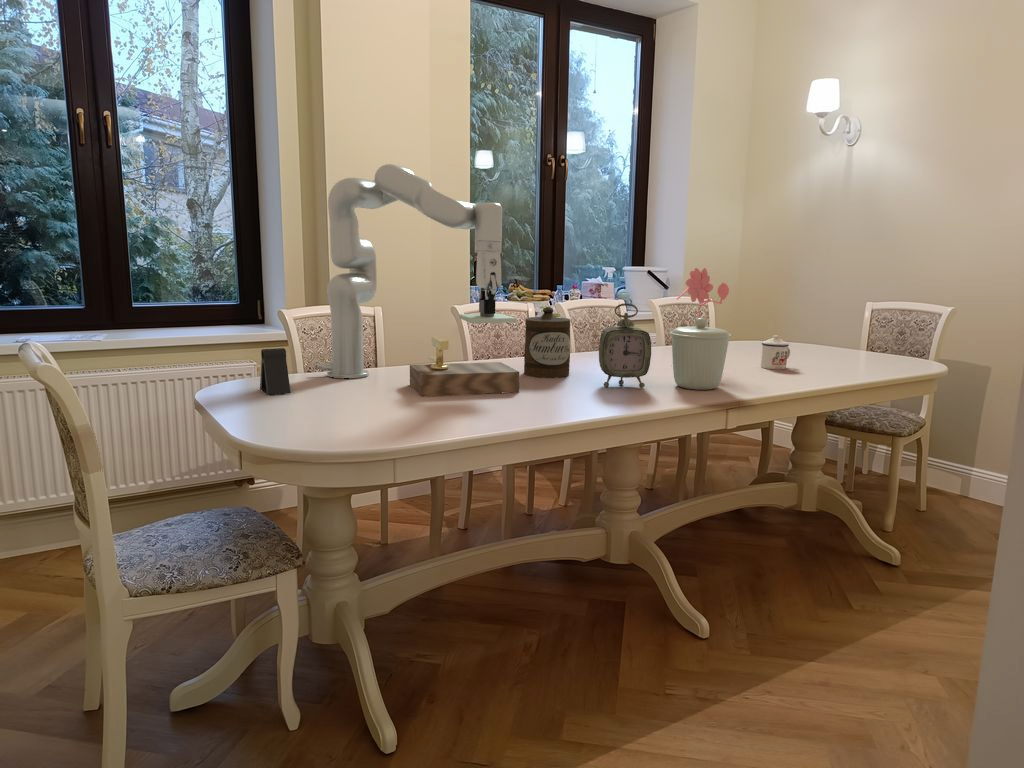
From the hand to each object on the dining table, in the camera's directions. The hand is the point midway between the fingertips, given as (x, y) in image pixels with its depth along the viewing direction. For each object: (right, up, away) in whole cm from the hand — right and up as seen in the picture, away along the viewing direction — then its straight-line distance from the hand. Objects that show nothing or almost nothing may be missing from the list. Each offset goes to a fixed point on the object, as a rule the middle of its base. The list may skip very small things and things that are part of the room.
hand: (487, 312), depth 212 cm
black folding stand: (-58, -23, -7) cm, 63 cm away
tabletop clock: (+40, -21, +13) cm, 47 cm away
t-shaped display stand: (-14, -16, +2) cm, 21 cm away
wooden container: (+18, -17, +31) cm, 40 cm away
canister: (+63, -22, +14) cm, 68 cm away
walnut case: (-7, -22, +3) cm, 23 cm away
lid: (0, -2, 0) cm, 2 cm away
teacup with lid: (+102, -15, +55) cm, 117 cm away
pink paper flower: (+71, -15, +53) cm, 90 cm away
